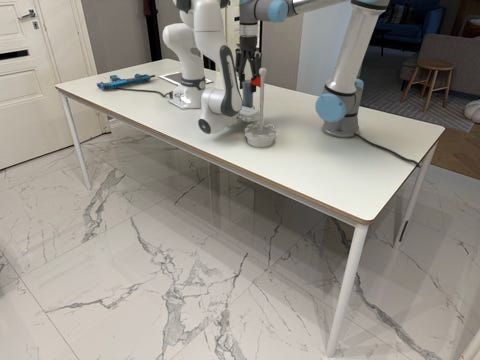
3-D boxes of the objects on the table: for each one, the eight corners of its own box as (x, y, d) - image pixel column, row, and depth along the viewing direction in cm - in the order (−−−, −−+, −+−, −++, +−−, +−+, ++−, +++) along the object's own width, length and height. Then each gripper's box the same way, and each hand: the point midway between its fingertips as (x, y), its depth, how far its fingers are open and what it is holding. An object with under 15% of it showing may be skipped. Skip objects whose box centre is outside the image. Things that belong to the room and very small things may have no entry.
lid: (240, 85, 150) (239, 81, 149) (245, 82, 154) (245, 78, 153) (250, 87, 148) (250, 83, 147) (255, 84, 151) (255, 80, 150)
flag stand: (267, 132, 148) (271, 61, 132) (281, 144, 138) (286, 70, 122) (240, 137, 144) (240, 65, 128) (252, 150, 134) (253, 74, 118)
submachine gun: (141, 68, 225) (159, 74, 208) (142, 74, 227) (160, 80, 210) (89, 78, 206) (104, 86, 190) (91, 84, 208) (106, 92, 192)
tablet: (158, 76, 219) (158, 76, 218) (184, 71, 230) (184, 70, 229) (185, 88, 198) (185, 88, 198) (213, 81, 209) (213, 81, 209)
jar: (240, 121, 159) (240, 82, 149) (245, 117, 162) (245, 79, 153) (249, 123, 157) (250, 84, 147) (254, 119, 161) (255, 81, 151)
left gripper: (248, 114, 140) (267, 104, 149) (212, 103, 151) (232, 94, 160) (247, 128, 144) (266, 118, 153) (212, 116, 155) (232, 107, 164)
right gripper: (272, 37, 136) (269, 93, 148) (238, 31, 147) (238, 83, 160) (259, 39, 131) (257, 97, 144) (225, 33, 143) (227, 87, 155)
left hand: (248, 106), depth 157 cm, fingers closed on jar, 5 cm apart
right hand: (247, 90), depth 152 cm, fingers open, 6 cm apart
